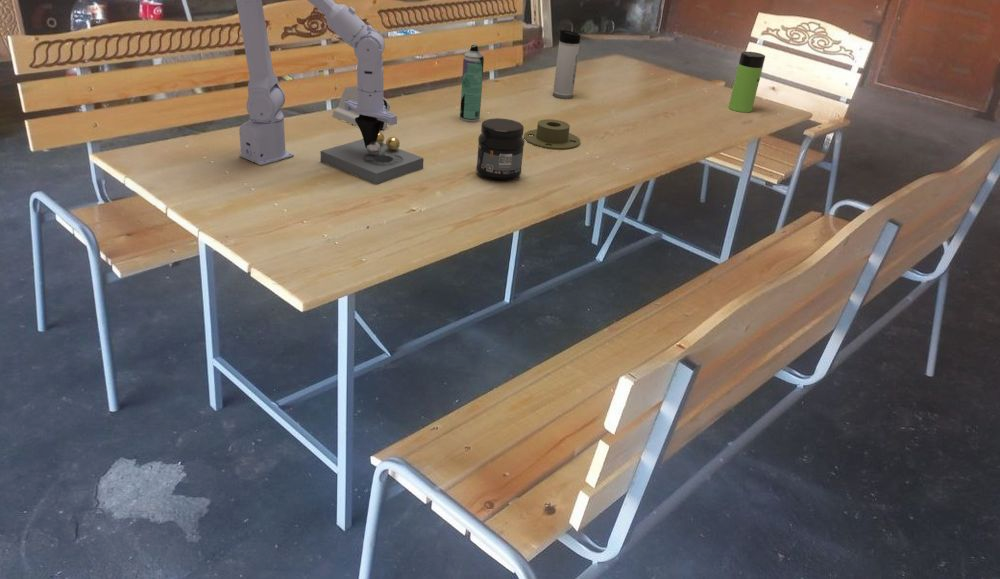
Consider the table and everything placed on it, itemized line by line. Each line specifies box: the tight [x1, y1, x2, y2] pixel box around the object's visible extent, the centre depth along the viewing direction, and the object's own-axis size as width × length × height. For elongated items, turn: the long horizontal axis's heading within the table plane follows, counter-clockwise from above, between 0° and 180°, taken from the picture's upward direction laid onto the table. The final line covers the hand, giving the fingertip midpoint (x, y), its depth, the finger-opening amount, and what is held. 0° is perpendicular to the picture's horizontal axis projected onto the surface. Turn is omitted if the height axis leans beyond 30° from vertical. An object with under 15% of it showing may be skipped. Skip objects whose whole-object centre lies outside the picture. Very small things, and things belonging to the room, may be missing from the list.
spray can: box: [459, 44, 485, 123], centre depth 210 cm, size 6×6×20 cm
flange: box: [523, 118, 581, 151], centre depth 205 cm, size 5×15×15 cm
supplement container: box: [475, 117, 525, 183], centre depth 178 cm, size 10×10×12 cm
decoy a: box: [376, 131, 385, 144], centre depth 183 cm, size 3×3×3 cm
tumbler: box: [728, 51, 766, 113], centre depth 244 cm, size 8×8×17 cm
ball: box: [367, 141, 381, 155], centre depth 177 cm, size 3×3×3 cm
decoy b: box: [385, 136, 401, 151], centre depth 181 cm, size 3×3×3 cm
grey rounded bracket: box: [331, 86, 391, 131], centre depth 204 cm, size 17×5×10 cm, turn 48°
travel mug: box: [552, 29, 581, 100], centre depth 239 cm, size 6×7×20 cm
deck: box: [319, 138, 424, 185], centre depth 179 cm, size 18×15×2 cm
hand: (370, 147), depth 178 cm, fingers closed, pressing on ball
